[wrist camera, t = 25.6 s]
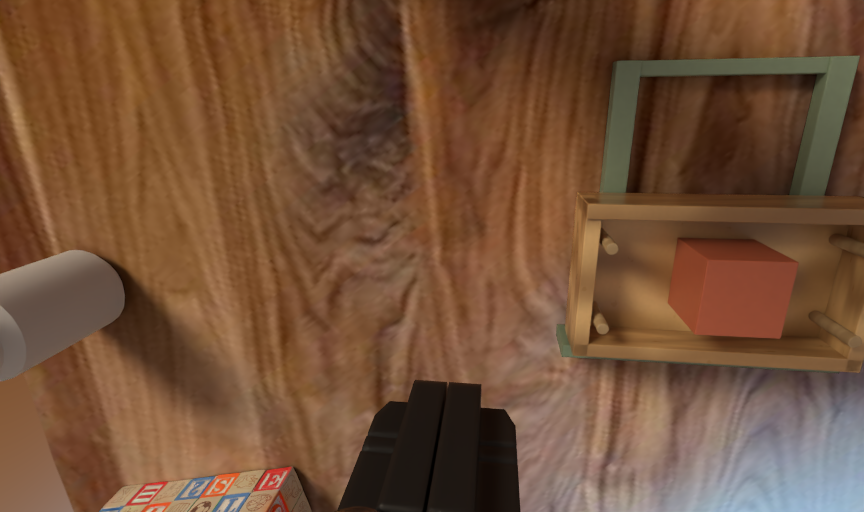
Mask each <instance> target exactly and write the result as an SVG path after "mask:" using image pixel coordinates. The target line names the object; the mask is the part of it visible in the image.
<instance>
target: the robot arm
mask: <svg viewBox="0 0 864 512" xmlns="http://www.w3.org/2000/svg"><path fill="white" fill-rule="evenodd" d="M335 512H520V498H519V481H518V465H517V449H516V429H515V425H514V423H513V422H512V420H511V419H510V417H509V416H508V414H507V412H506V411H505V410H504V409H491V408H481V384H469V383H454V382H449V385H448V386H447V382H437V381H423V380H415V381H414V384H413V387H412V390H411V393H410V397H409V400H408V402H395V401H390V402H388V403H387V404H386V405H385V406H384V407H383V408H382V409H381V410H380V411H379V412H378V413H377V414H376V415H375V416H374V419H373V421H372V424H371V426H370V429H369V432H368V436H367V437H366V439H365V442H364V444H363V447H362V451H361V452H360V454H359V457H358V459H357V462H356V464H355V467H354V470H353V472H352V475H351V477H350V480H349V482H348V485H347V487H346V490H345V492H344V495H343V497H342V500H341V502H340V505H339V508H338V510H337V511H335Z"/></svg>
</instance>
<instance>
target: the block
mask: <svg viewBox="0 0 864 512" xmlns="http://www.w3.org/2000/svg"><path fill="white" fill-rule="evenodd" d="M798 265H799V262H797V261H795V260H793V259H791V258H789V257H787V256H785V255H784V254H782V253H780V252H778V251H776V250H774V249H772V248H770V247H768V246H766V245H764V244H762V243H760V242H759V241H757V240H755V239H717V238H678V239H677V245H676V252H675V258H674V265H673V271H672V278H671V284H670V290H669V297H668V304H669V305H670V306H671V308H672V309H673V310H674V311H675V312H676V313H677V315H678V316H679V317H680V318H681V319H682V320H683V321H684V323H685V324H686V325H687V326H688V327H689V328H690V330H691V331H692V332H693V333H694V334H695V335H713V336H734V337H755V338H776V339H780V338H781V335H782V331H783V327H784V322H785V318H786V314H787V310H788V306H789V302H790V298H791V294H792V290H793V285H794V281H795V277H796V273H797V269H798Z"/></svg>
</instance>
